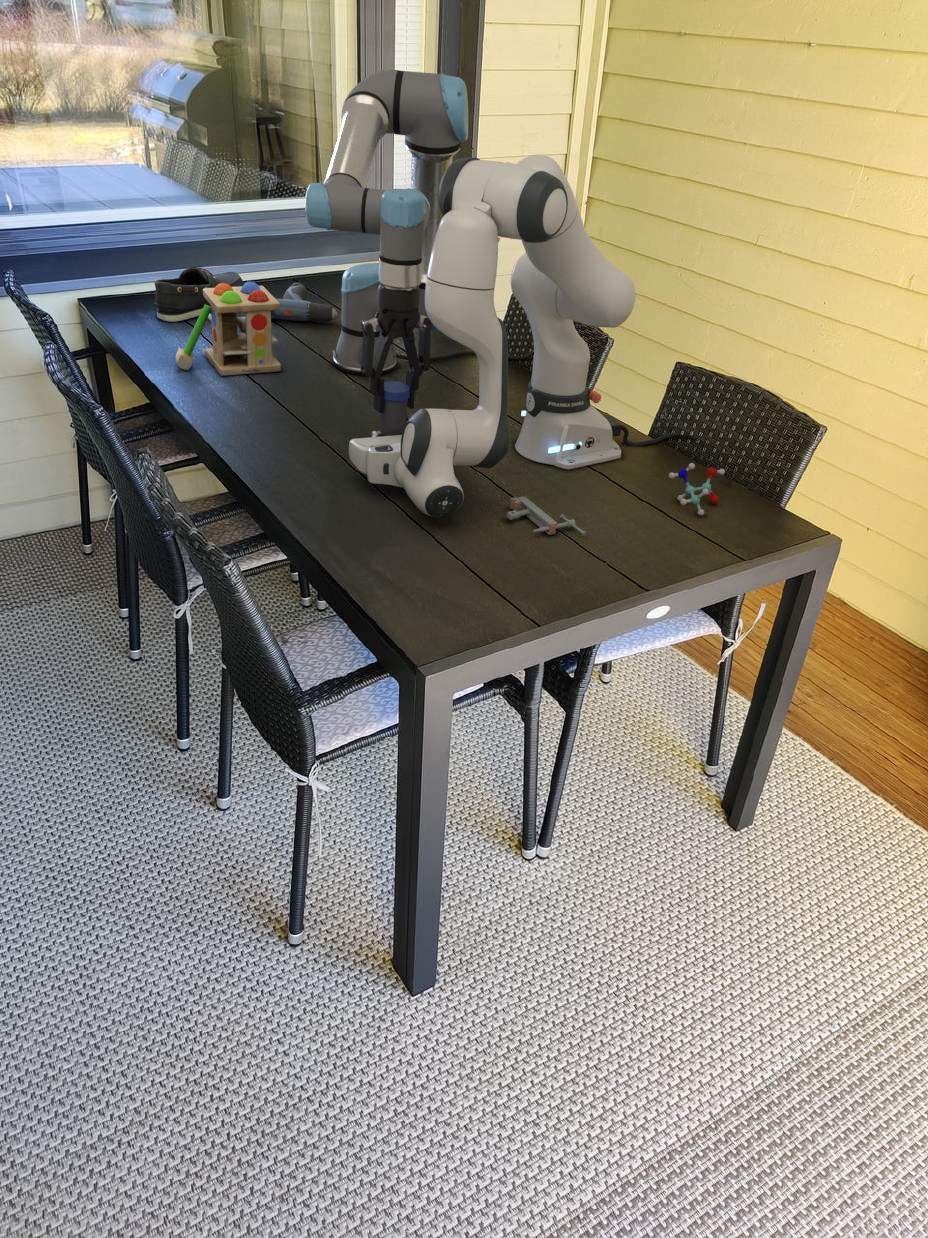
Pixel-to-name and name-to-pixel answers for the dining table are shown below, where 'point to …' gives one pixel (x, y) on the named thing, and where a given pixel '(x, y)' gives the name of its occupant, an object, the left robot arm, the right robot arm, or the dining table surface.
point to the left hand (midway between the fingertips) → (393, 407)
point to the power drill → (301, 307)
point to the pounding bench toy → (229, 347)
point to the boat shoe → (188, 292)
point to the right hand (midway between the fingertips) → (390, 432)
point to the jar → (393, 417)
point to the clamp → (538, 516)
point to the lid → (396, 391)
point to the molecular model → (691, 490)
